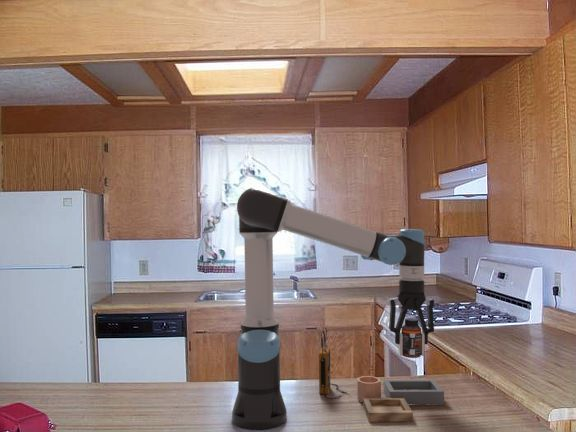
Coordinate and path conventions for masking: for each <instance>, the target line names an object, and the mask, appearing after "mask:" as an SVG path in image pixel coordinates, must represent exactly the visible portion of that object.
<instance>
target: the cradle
mask: <svg viewBox="0 0 576 432" xmlns="http://www.w3.org/2000/svg"><path fill="white" fill-rule="evenodd" d="M382 384H383V394H384V396H385V398H404V399H405V400H406V402H407V404H439V405H438V406H444V405H445V391H444V390H443V388H442V387H441V386H440V385H439V384H438V383H437V382H436V380H435V379H383V383H382ZM404 389H418V390H404Z"/></svg>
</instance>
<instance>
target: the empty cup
mask: <svg viewBox="0 0 576 432" xmlns="http://www.w3.org/2000/svg"><path fill="white" fill-rule="evenodd" d="M356 396H357V399H356V400H359V401H358V402H360V401H361V402H360V403H363V398H382V381H381V379H380V377H376V376H373V375H362V376H359V377H356Z"/></svg>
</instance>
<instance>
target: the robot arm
mask: <svg viewBox="0 0 576 432" xmlns="http://www.w3.org/2000/svg"><path fill="white" fill-rule="evenodd" d="M236 203H237V204H236V211H237V214H238V225H239V227H238V231H239V235H241V237H242V238H243V239H244V242H243V243H244V292H245V293H244V294H245V295H244V296H245V297H244V302H245V317H244V318H243V319H242V321H241V322H240V336H239V337H238V339H237V345H236V346H237V347H236V349H237V350H236V351H237V369H238V370H237V373H238V375H237V376H238V377H237V379H238V380H237V382H238V383H237V385H238V386H237V387H238V389H237V390H238V391H237V394H236V398H235V402H234V404H233V407H232V411H231V412H232V413H231V420H232V423H233V424H234V425H235V426H237V427H239V428H242V429H247V430H269V429H273V428H276V427H278V426H281V425H283V424H284V423H286V421H287V417H288V416H287V414H288V412H287V407H286V404H285V402H284V398H283V395H282V392H281V354H280V353H281V343H280V327H279V325H280V323H279V320H278V319H277V318H276V317H275V316H274V315H275V313H274V312H275V311H274V310H275V307H274V306H275V305H274V254H273V253H274V249H273V248H274V247H273V242H274V241H273V239H274V237H275V236H276V235H277V234H278V233H279V232H281V231H285V232H289V233H292V234H295V235H299V236H302V237H304V238H307V239H310V240H314V241H316V242H320V243H322V244H326V245H329V246H332V247H335V248H338V249H342V250H345V251H348V252H351V253H354V254H356V255H360V256H361V257H360V258H361V259H363V260H365V261H367V260H368V261H378V262H381V263H383V264H385V265H390V266H392V265H398V264H399V268H398V269H399V271H398V272H399V273H398V277H399V278H400V279H399V280H398V294H397V296H396V297H394V298H392V297H390V298H389V299H388V302H389V306H390V308H389V322H388V324H389V325H388V329H389V331H390V332H392V333H394V342H395V344H396V345H398V346H397V352H398V356H399V357H400V356H401V357H403V356H402V352H403V334H402V326H404V323H405V319H406V316H407V313H408V311H411V310H413V311H416V314H417V319H418V323H419V324H420V325H419V326H420V327H421V357H424V356H425V351H426V350H425V345H428V344H429V334H430V333H434V332H435V323H434V322H435V320H434V306H435V305H434V304H435V300H434V299H433V298H427V296H426V295H425V281H424V280H423V279H425V245H426V241H425V232H424V230H423V229H420V228H419V229H418V228H417V229H415V228H413V229H412V228H406V229H405V228H404V229H403V228H401V229H400V230H399V233H398V234H397V235H396V234H395V235H387V234H383V233H381V232H376V231H374V230H372V229H369V228H365V227H362V226H360V225H356V224H353V223H350V222H348V221H345V220H340V219H337V218H334V217H331V216H328V215H326V214H323V213H319V212H316V211H314V210H311V209H307V208H304V207H302V206H298V205H296V204H292V203H291V201H290V198H289V199H288V198H285V197H283V196H280V195H278V194H275V193H273V192H271V191H270V190H268V189H266V188H264V187H260V186H257V187H250V188H248V189H246V190H245V191H243V192H242V193H241V195H239V197H238V199H237V202H236ZM398 302H399V303H400V305H401V308H400V311H399V315H398V318H397V319H398V320H397V322H396V312H397V311H396V310H397V307H396V306H397V305H398ZM424 303H425V305H426V312H427V314H426V316H427V323H426V321H425V317H424V314H423V310H422V306H423V304H424Z"/></svg>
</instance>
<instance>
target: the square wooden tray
mask: <svg viewBox="0 0 576 432" xmlns="http://www.w3.org/2000/svg"><path fill="white" fill-rule="evenodd" d="M362 406H364V407H363V410H364V409H365V410H364V413H365V412H366V413H365V416H366V417H367V421H368V422H369V423H373V422H374V423H383V422H382V421H413V422H414V413H413V412H414V411H412V409H411V407H410V405H408V404H407V402H406V400H405V399H404V398H386V397H381V398H363V402H362ZM380 421H381V422H380Z"/></svg>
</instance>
